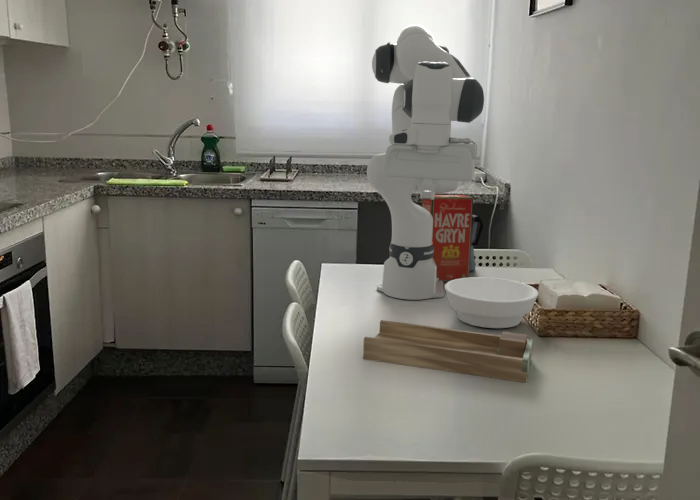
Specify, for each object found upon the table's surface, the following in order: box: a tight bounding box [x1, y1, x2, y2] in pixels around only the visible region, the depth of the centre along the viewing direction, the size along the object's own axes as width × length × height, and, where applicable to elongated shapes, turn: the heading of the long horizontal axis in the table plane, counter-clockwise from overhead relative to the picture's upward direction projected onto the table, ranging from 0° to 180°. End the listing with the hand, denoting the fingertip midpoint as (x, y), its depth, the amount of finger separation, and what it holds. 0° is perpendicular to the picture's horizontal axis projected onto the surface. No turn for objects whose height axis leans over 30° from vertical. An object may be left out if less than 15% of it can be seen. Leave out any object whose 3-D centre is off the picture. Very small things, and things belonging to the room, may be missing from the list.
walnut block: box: [498, 331, 528, 358], centre depth 145 cm, size 5×5×4 cm
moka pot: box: [469, 214, 484, 272], centre depth 223 cm, size 10×15×20 cm, turn 40°
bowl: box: [444, 276, 539, 329], centre depth 173 cm, size 22×22×8 cm
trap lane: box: [362, 319, 534, 383], centre depth 147 cm, size 13×33×4 cm, turn 72°
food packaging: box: [421, 194, 474, 282], centre depth 210 cm, size 13×9×25 cm
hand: (427, 199), depth 158 cm, fingers closed
